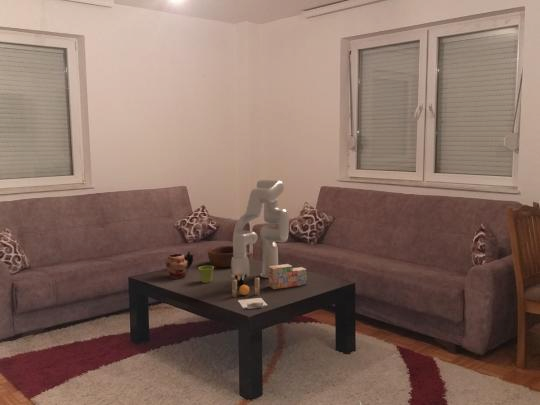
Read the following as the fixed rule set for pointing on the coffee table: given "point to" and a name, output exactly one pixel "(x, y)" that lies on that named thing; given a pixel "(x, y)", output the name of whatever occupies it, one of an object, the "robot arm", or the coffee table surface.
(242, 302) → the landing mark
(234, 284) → the post
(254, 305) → the stopper wall
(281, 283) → the stack of blocks
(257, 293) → the post
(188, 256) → the controller
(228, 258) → the wooden bowl
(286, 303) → the coffee table surface
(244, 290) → the ball
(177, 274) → the decorative planter
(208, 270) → the plant pot
